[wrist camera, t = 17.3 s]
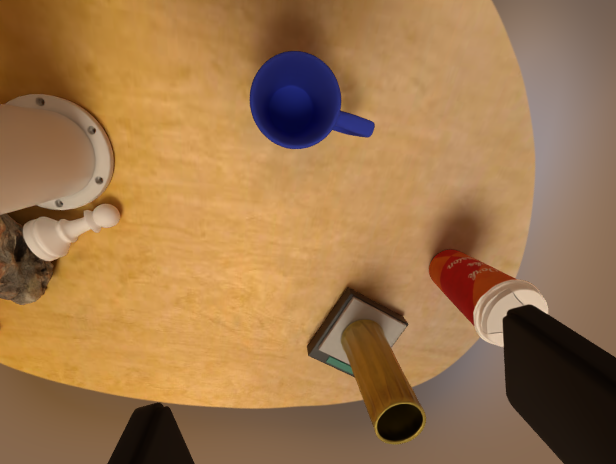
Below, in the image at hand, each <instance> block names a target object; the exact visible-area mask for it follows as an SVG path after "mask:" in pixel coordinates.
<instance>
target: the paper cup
mask: <svg viewBox="0 0 616 464" xmlns="http://www.w3.org/2000/svg"><path fill="white" fill-rule="evenodd" d="M429 274H430V277H431V279H432V280H433V281H434V283H435V284H436V285H437V286H438V287H439V288H440V289H441V291H442V292H443V293H444V294H445V295H446V296H447V297H448V298H449V299H450V300H451V301H452V303H453V304H454V305H455V306H456V307H457V308H458V309H459V310H460V311H461V312H462V313H463V314H464V316H465V317H466V318H467V319H468V320H469V321H470V322H471V323H472V324H473V325H474V326H475V329H476V332H477V333H478V335H479V336H480V337H481V338H482V339H483V340H485V341H486V342H489V343H491V344H495V345H498V346H500V347H504V342H503V323H502V321H503V317H505V316H506V314H507V311H508V310H510V309H513V308H516V307H520V306H524V305H528V304H530V305H533V306H535V307H537V308H539V309H540V310H542V311H543V312H545V313H546V314H548V306H547V303H546V301H545V299H544V297H543V296H542V295H541V293H540V291H539V290H538V288H537V287H536V286H534V285H533V284H532V283H530V282H527V281H524V280H517V279H515V278H513V277H511V276H509V275H507V274H505V273H503V272H501V271H499V270H497V269H495V268H493V267H491V266H489V265H487V264H485V263H483V262H481V261H479V260H477V259H474V258H472V257H470V256H468V255H466V254H464V253H462V252H459V251H457V250H452V249H450V250H444V251H442V252H440V253H438V254H437V255H436V256H435V257H434V258H433V260H432V261H431V263H430V267H429Z"/></svg>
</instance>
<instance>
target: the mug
mask: <svg viewBox="0 0 616 464" xmlns="http://www.w3.org/2000/svg"><path fill="white" fill-rule="evenodd" d="M250 107H251V112H252V116H253V118H254V121H255V123H256V125H257V126H258V128H259V129H260V131H261V132H262V133H263V134H264V135H265V136H266V137H267V138H268V139H269V140H271V141H272V142H274V143H275V144H277V145H279V146H282V147H285V148H290V149H303V148H307V147H311V146H313V145H315V144H317V143H319V142H320V141H322V140H323V139H324V138H325V137H327V135H328V134H329V133H330V132H331V131H332V130H334V131H337V132H341V133H344V134H348V135H353V136H359V137H370V136H371V135H372V133H373V130H374V127H375V124H374V122H372V121H370V120H367V119H364V118H362V117H359V116H356V115H353V114H350V113H346V112H343V111H340V109H341V93H340V88H339V85H338V82H337V79H336V77H335V76H334V74H333V72H332V71H331V69H330V68H329V67H328V66H327V65H326V64H325V63H324V62H323V61H322V60H320V59H319V58H317V57H316V56H314V55H312V54H309V53H306V52H301V51H288V52H283V53H280V54H278V55H275V56H274V57H272V58H270V59H269V60H268V61H266V62H265V63H264V64H263V65H262V66H261V68H260V69H259V70H258V72H257V74H256V75H255V77H254V80H253V82H252V86H251V90H250Z"/></svg>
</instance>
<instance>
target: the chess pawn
mask: <svg viewBox="0 0 616 464" xmlns="http://www.w3.org/2000/svg"><path fill="white" fill-rule="evenodd" d="M119 220H120V213H119V211H118V209H117V208H116V207H115V206H113V205H111V204H101V205H99V206H97V207H96V208H95V209H94V211H90V210H85V211H84V217H83V218H80V219H76V220H72V221H68V220H66V219H60V220H59V221H56V220H54V219H51V218H48V217H39V218H37V219H34V220H31V221H28V222H27V223H25V225H24V227H23V237H24V239H25V242H26V244H27V245H28V247H29V248H30V250H31V251H32V252H33V253H34V254H35V255H36V256H37V257H39V258H40V259H43V260H45V261H53V260H55V259H58V258H59V257H63V256H65V255H66V254H67V253H68V251H69V248H70V244H71V242H76V241H77V239H78V236H79V235H81V234H82V233H84V232H86V231H88V230H90V229H92V230H93V231H94V232H96V233H98V232H100V230H101V227H104V228H109V227H113V226H115V225H116V224H117V223H118V222H119Z"/></svg>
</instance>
